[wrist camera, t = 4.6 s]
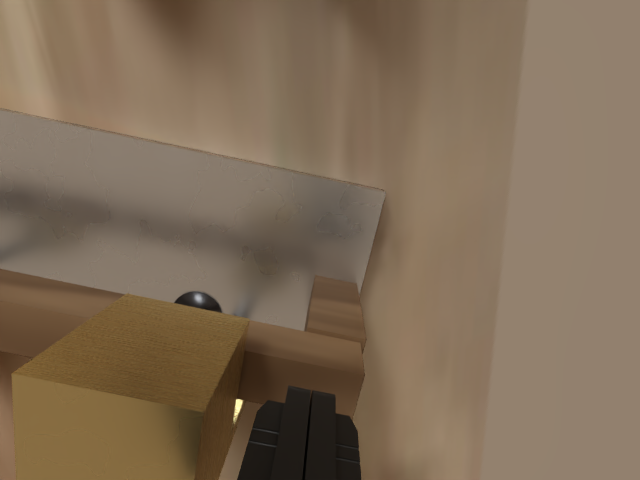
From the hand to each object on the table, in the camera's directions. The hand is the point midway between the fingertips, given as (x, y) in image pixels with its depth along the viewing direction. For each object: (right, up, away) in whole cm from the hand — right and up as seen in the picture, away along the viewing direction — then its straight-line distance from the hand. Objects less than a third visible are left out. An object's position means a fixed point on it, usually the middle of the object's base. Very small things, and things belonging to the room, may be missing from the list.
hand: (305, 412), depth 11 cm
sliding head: (-4, +3, +8) cm, 10 cm away
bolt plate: (-11, +4, +10) cm, 16 cm away
